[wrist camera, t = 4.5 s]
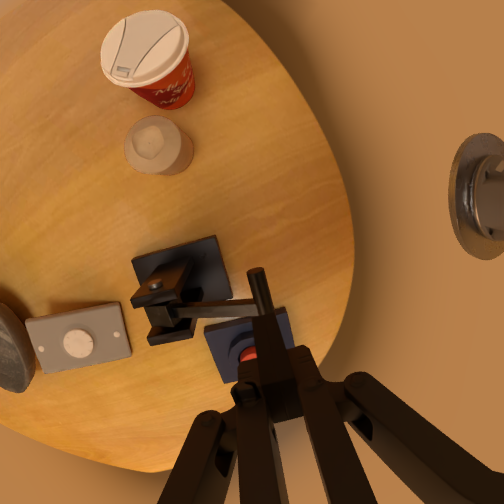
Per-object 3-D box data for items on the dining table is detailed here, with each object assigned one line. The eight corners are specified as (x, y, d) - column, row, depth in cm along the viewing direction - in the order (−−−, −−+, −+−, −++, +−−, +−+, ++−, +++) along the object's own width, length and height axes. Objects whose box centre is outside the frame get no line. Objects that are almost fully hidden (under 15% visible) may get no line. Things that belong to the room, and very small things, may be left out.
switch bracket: (215, 234, 34) (206, 261, 23) (233, 294, 36) (233, 344, 25) (133, 257, 35) (94, 291, 23) (154, 313, 37) (127, 363, 25)
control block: (284, 306, 37) (289, 318, 34) (297, 359, 40) (301, 373, 36) (204, 326, 37) (202, 340, 34) (224, 376, 40) (223, 391, 36)
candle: (141, 163, 32) (108, 158, 22) (163, 123, 31) (137, 103, 21) (180, 183, 33) (158, 184, 23) (202, 142, 32) (189, 126, 22)
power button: (264, 342, 35) (265, 350, 33) (270, 364, 36) (272, 372, 34) (236, 349, 35) (237, 357, 33) (244, 370, 36) (244, 378, 34)
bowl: (44, 302, 35) (16, 324, 28) (54, 384, 39) (36, 410, 31) (-21, 272, 33) (-49, 287, 25) (-8, 350, 37) (-29, 369, 29)
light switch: (133, 360, 36) (43, 378, 29) (126, 341, 41) (46, 357, 34) (120, 306, 34) (22, 325, 27) (115, 292, 39) (29, 308, 32)
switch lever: (268, 263, 22) (258, 276, 20) (284, 329, 23) (276, 346, 21) (151, 277, 27) (135, 288, 25) (172, 330, 28) (159, 343, 26)
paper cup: (188, 125, 31) (159, 91, 17) (133, 109, 30) (80, 75, 16) (214, 70, 29) (203, 11, 16) (158, 56, 28) (123, 0, 15)
